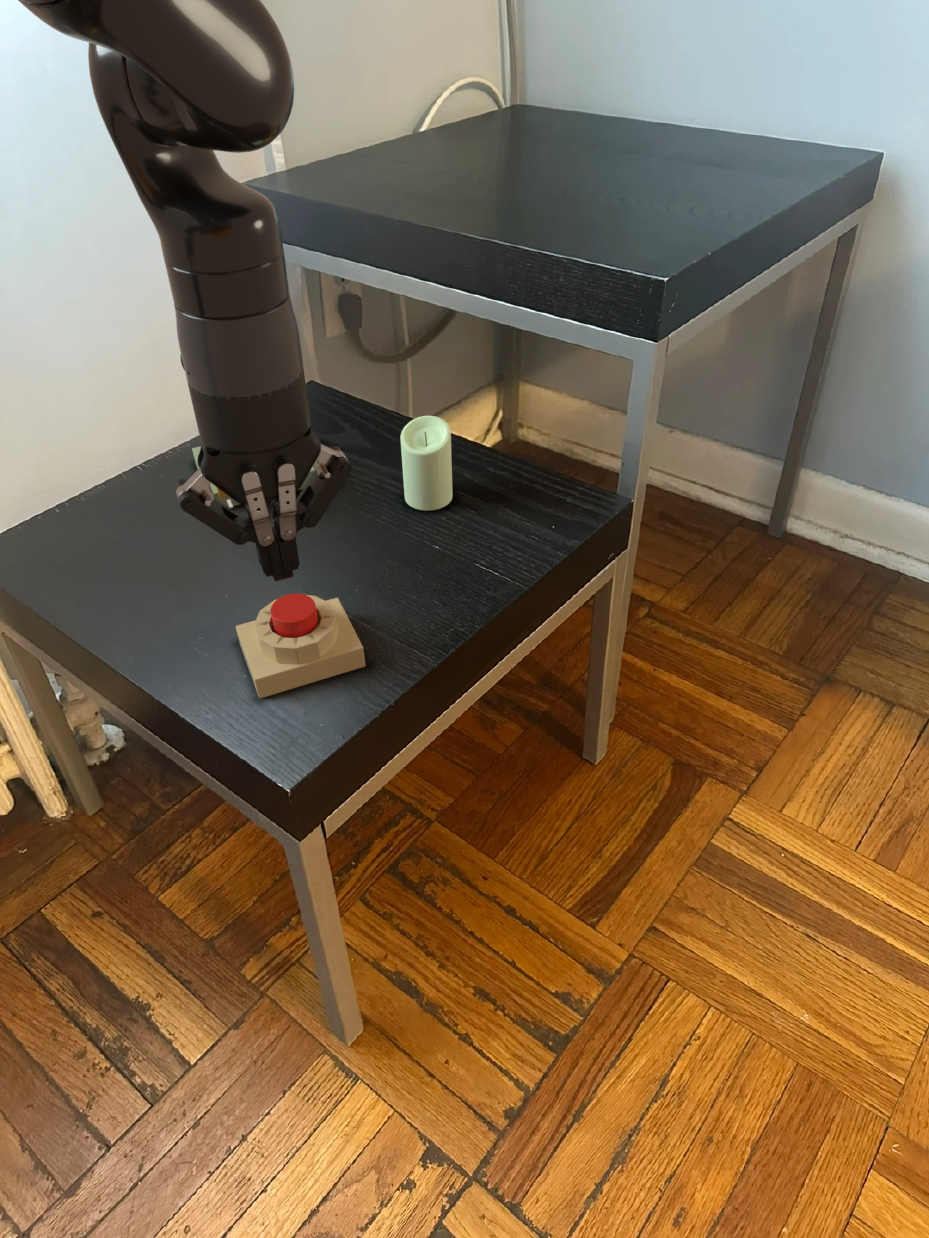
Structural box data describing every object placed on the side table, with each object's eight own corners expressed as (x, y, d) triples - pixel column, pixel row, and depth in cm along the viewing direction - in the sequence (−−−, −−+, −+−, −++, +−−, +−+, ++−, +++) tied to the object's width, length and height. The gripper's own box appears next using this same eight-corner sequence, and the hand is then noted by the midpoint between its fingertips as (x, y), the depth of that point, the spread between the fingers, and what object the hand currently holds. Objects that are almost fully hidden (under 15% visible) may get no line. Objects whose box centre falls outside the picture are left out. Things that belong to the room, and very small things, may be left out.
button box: (259, 699, 71) (250, 663, 68) (240, 644, 75) (231, 609, 73) (365, 666, 73) (361, 631, 71) (340, 615, 78) (335, 580, 75)
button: (280, 643, 70) (276, 627, 69) (269, 616, 73) (265, 600, 72) (323, 631, 71) (320, 614, 70) (311, 604, 74) (308, 588, 73)
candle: (444, 514, 89) (442, 444, 84) (398, 507, 90) (392, 437, 85) (458, 488, 93) (456, 418, 88) (413, 481, 94) (409, 412, 89)
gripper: (149, 411, 53) (206, 626, 64) (359, 370, 57) (377, 579, 68) (131, 360, 58) (187, 568, 69) (324, 326, 62) (347, 527, 73)
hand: (281, 573), depth 69 cm, fingers closed
